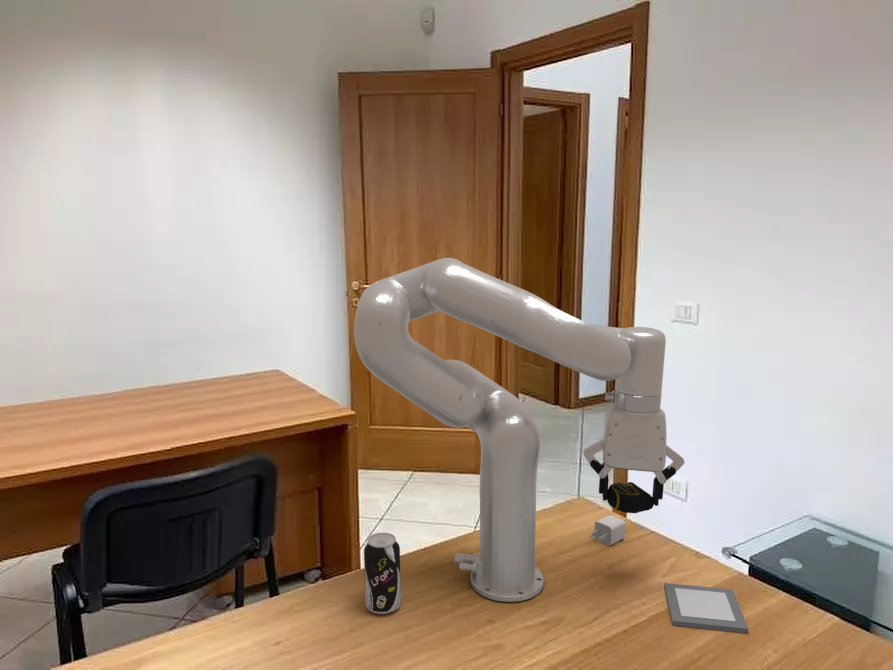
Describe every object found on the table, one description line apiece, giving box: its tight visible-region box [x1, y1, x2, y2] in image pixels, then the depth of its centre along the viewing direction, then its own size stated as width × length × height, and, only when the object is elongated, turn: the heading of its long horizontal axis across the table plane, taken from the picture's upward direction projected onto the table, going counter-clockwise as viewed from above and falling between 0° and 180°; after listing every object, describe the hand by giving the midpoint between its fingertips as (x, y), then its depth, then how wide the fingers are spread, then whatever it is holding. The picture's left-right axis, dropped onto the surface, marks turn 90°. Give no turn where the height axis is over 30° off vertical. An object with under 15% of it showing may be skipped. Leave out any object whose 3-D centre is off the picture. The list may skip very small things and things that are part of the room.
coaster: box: [663, 582, 749, 634], centre depth 109 cm, size 11×11×1 cm
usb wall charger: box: [589, 514, 626, 547], centre depth 131 cm, size 4×7×4 cm, turn 130°
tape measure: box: [606, 481, 655, 514], centre depth 117 cm, size 7×7×4 cm
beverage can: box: [363, 532, 402, 615], centre depth 109 cm, size 6×6×12 cm
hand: (629, 499), depth 116 cm, fingers closed on tape measure, 7 cm apart
